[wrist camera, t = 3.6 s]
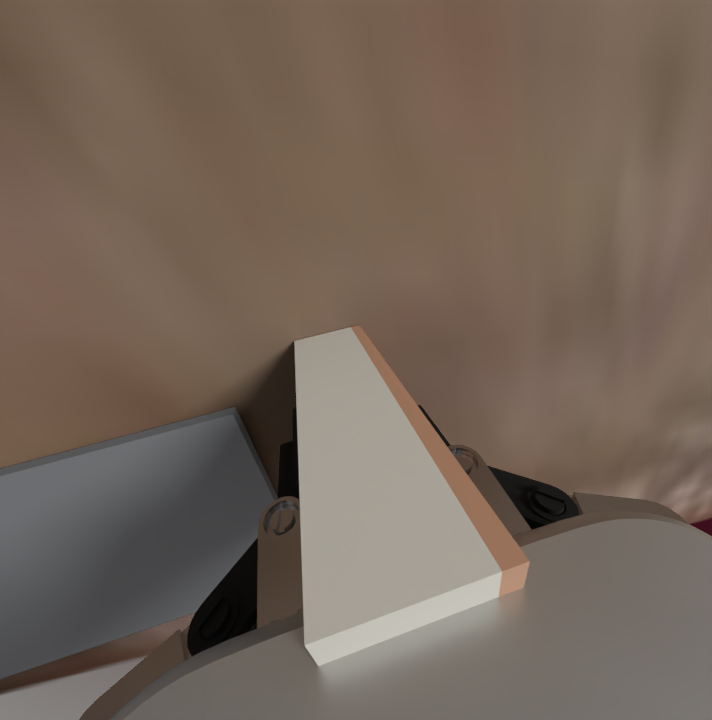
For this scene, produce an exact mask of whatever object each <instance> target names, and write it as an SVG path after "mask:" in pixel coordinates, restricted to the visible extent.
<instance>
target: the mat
mask: <svg viewBox="0 0 712 720" xmlns="http://www.w3.org/2000/svg"><path fill="white" fill-rule="evenodd" d="M277 499H278V496H277V494H276V492H275V490H274V488H273V486H272V484H271V482H270V479H269V477H268V475H267V473H266V471H265V469H264V467H263V465H262V462H261V460H260V458H259V456H258V454H257V452H256V450H255V448H254V446H253V443H252V441H251V439H250V437H249V435H248V433H247V431H246V429H245V426H244V424H243V422H242V420H241V418H240V416H239V414H238V412H237V410H236V407H232V408H228V409H225V410H221V411H217V412H213V413H209V414H206V415H202V416H198V417H194V418H190V419H187V420H183V421H179V422H175V423H171V424H168V425H164V426H160V427H156V428H152V429H149V430H145V431H141V432H137V433H134V434H130V435H126V436H122V437H118V438H115V439H111V440H107V441H103V442H99V443H96V444H92V445H88V446H84V447H80V448H77V449H73V450H69V451H65V452H61V453H58V454H54V455H50V456H46V457H42V458H39V459H35V460H31V461H27V462H24V463H20V464H16V465H12V466H8V467H5V468H1V469H0V679H2V678H5V677H8V676H11V675H14V674H17V673H20V672H23V671H26V670H29V669H32V668H34V667H37V666H40V665H43V664H46V663H49V662H52V661H55V660H58V659H61V658H64V657H66V656H69V655H72V654H75V653H78V652H81V651H84V650H87V649H90V648H93V647H96V646H99V645H101V644H104V643H107V642H110V641H113V640H116V639H119V638H122V637H125V636H128V635H131V634H134V633H136V632H139V631H142V630H145V629H148V628H151V627H154V626H157V625H160V624H163V623H166V622H168V621H171V620H174V619H177V618H180V617H183V616H186V615H189V614H192V613H195V612H196V611H197V610H198V609H199V607H200V606H201V604H202V603H203V602H204V601H205V599H206V598H207V597H208V596H209V595H210V593H211V592H212V591H213V590H214V589H215V587H216V586H217V585H218V584H219V583H220V582H221V580H222V579H223V578H224V577H225V576H226V574H227V573H228V572H229V571H230V570H231V568H232V567H233V566H234V565H235V564H236V562H237V561H238V560H239V559H240V558H241V557H242V555H243V554H244V553H245V552H246V551H247V549H248V548H249V547H250V546H251V545H252V543H253V542H254V541H255V540H256V539H257V538H258V523H259V519H260V517H261V515H262V512H263V511H264V510H265V509H266V507H267V506H268V505H270V504H271V503H272V502H273V501H275V500H277Z"/></svg>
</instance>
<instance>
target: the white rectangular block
mask: <svg viewBox="0 0 712 720" xmlns="http://www.w3.org/2000/svg"><path fill="white" fill-rule="evenodd" d="M294 346H295V376H296V406H297V436H298V466H299V496H300V526H301V556H302V586H303V616H304V646H305V647H306V649H307V650H308V652H309V653H310V655H311V656H312V657H313V659H314V660H315V662H316V663H317V665H318V666H320V665H323V664H325V663H328V662H331V661H333V660H336V659H338V658H341V657H343V656H346V655H349V654H351V653H354V652H356V651H359V650H362V649H364V648H367V647H369V646H372V645H374V644H377V643H380V642H382V641H385V640H387V639H390V638H393V637H395V636H398V635H400V634H403V633H406V632H408V631H411V630H413V629H416V628H419V627H421V626H424V625H426V624H429V623H432V622H434V621H437V620H439V619H442V618H445V617H447V616H450V615H452V614H455V613H458V612H460V611H463V610H466V609H468V608H471V607H474V606H476V605H479V604H481V603H484V602H487V601H489V600H492V599H495V598H497V597H500V596H502V595H505V594H508V593H510V592H513V591H516V590H518V589H521V588H523V587H524V585H525V580H526V576H527V571H528V567H529V563H530V561H529V559H528V558H527V557H526V555H525V554H524V552H523V551H522V550H521V548H520V547H519V545H518V544H517V543H516V541H515V540H514V539H513V537H512V536H511V534H510V533H509V532H508V530H507V529H506V528H505V526H504V525H503V523H502V522H501V521H500V519H499V518H498V516H497V515H496V514H495V512H494V511H493V510H492V508H491V507H490V505H489V504H488V503H487V501H486V500H485V498H484V497H483V496H482V494H481V493H480V492H479V490H478V489H477V487H476V486H475V485H474V483H473V482H472V480H471V479H470V478H469V476H468V475H467V474H466V472H465V471H464V469H463V468H462V467H461V465H460V464H459V462H458V461H457V460H456V458H455V457H454V456H453V454H452V453H451V451H450V450H449V449H448V447H447V446H446V444H445V443H444V442H443V440H442V439H441V438H440V436H439V435H438V433H437V432H436V431H435V429H434V428H433V426H432V425H431V424H430V422H429V421H428V420H427V418H426V417H425V415H424V414H423V413H422V411H421V410H420V408H419V407H418V406H417V404H416V403H415V402H414V400H413V399H412V397H411V396H410V395H409V393H408V392H407V390H406V389H405V388H404V386H403V385H402V384H401V382H400V381H399V379H398V378H397V377H396V375H395V374H394V372H393V371H392V370H391V368H390V367H389V366H388V364H387V363H386V361H385V360H384V359H383V357H382V356H381V355H380V353H379V352H378V350H377V349H376V348H375V346H374V345H373V343H372V342H371V341H370V339H369V338H368V337H367V335H366V334H365V332H364V331H363V330H362V328H361V327H360V325H358V326H354V327H350V328H346V329H342V330H338V331H333V332H329V333H325V334H321V335H317V336H313V337H309V338H305V339H301V340H297V341H294Z"/></svg>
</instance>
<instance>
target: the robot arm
mask: <svg viewBox="0 0 712 720" xmlns="http://www.w3.org/2000/svg"><path fill="white" fill-rule="evenodd" d="M417 406H418V407H419V408H420V410H421V411H422V413H423V414H424V415H425V417H426V418H427V420H428V421H429V422H430V424H431V425H432V426H433V428H434V429H435V431H436V432H437V433H438V435H439V436H440V438H441V439H442V440H443V442H444V443H445V444H446V446H447V447H448V449H449V450H450V451H451V453H452V454H453V456H454V457H455V458H456V460H457V461H458V462H459V464H460V465H461V467H462V468H463V469H464V471H465V472H466V474H467V475H468V476H469V478H470V479H471V480H472V482H473V483H474V485H475V486H476V487H477V489H478V490H479V492H480V493H481V494H482V496H483V497H484V498H485V500H486V501H487V503H488V504H489V505H490V507H491V508H492V510H493V511H494V512H495V514H496V515H497V516H498V518H499V519H500V521H501V522H502V523H503V525H504V526H505V528H506V529H507V530H508V532H509V533H510V534H511V536H512V537H513V539H514V540H515V541H516V543H517V544H518V545H519V547H520V548H521V550H522V551H523V552H524V554H525V555H526V557H527V558H528V559H529V561H530V563H529V567H528V571H527V576H526V580H525V585H524V587H523V588H521V589H518V590H516V591H513V592H510V593H508V594H505V595H502V596H500V597H497V598H495V599H492V600H489V601H487V602H484V603H481V604H479V605H476V606H474V607H471V608H468V609H466V610H463V611H460V612H458V613H455V614H452V615H450V616H447V617H445V618H442V619H439V620H437V621H434V622H432V623H429V624H426V625H424V626H421V627H419V628H416V629H413V630H411V631H408V632H406V633H403V634H400V635H398V636H395V637H393V638H390V639H387V640H385V641H382V642H380V643H377V644H374V645H372V646H369V647H367V648H364V649H362V650H359V651H356V652H354V653H351V654H349V655H346V656H343V657H341V658H338V659H336V660H333V661H331V662H328V663H325V664H323V665H320V666H318V665H317V663H316V662H315V660H314V659H313V657H312V656H311V655H310V653H309V652H308V650H307V649H306V647H305V646H304V616H303V586H302V556H301V526H300V496H299V466H298V436H297V408H294V409H293V441H291V442H287V443H284V444H281V446H280V462H279V484H278V499H277V500H275V501H273V502H272V503H271V504H270V505H268V506H267V507H266V509H265V510H264V511H263V512H262V515H261V517H260V519H259V523H258V538H257V539H256V540H255V541H254V542H253V543H252V545H251V546H250V547H249V548H248V549H247V551H246V552H245V553H244V554H243V555H242V557H241V558H240V559H239V560H238V561H237V562H236V564H235V565H234V566H233V567H232V568H231V570H230V571H229V572H228V573H227V574H226V576H225V577H224V578H223V579H222V580H221V582H220V583H219V584H218V585H217V586H216V587H215V589H214V590H213V591H212V592H211V593H210V595H209V596H208V597H207V598H206V599H205V601H204V602H203V603H202V604H201V606H200V607H199V609H198V610H197V611H196V613H195V615H194V617H193V619H192V621H191V623H190V625H189V626H188V627H187V628H186V629H185V630H184V631H180V630H178V631H176V632H175V633H174V634H173V635H172V636H171V637H169V638H168V639H167V640H166V641H165V642H164V643H162V644H161V645H160V646H159V647H158V648H157V649H155V650H154V651H153V652H152V653H151V654H150V655H148V656H147V657H146V658H145V659H144V660H143V661H141V662H140V663H139V664H138V665H137V666H136V667H134V668H133V669H132V670H131V671H130V672H128V673H127V674H126V675H125V676H124V677H123V678H121V679H120V680H119V681H118V682H117V683H116V684H115V685H113V686H112V687H111V688H110V689H109V690H107V691H106V692H105V693H104V694H103V695H102V696H100V697H99V698H98V699H97V700H96V701H95V702H94V703H93V704H92V705H91V706H90V707H89V708H88V709H87V710H86V711H85V712H84V714H83V715H82V716H81V718H80V719H79V720H712V536H710V535H708V534H706V533H704V532H702V531H700V530H699V529H697V528H695V527H693V526H691V525H688V523H687V522H686V521H685V520H684V519H683V518H682V517H681V516H680V515H678V514H677V513H675V512H674V511H672V510H671V509H669V508H667V507H665V506H663V505H661V504H658V503H656V502H652V501H647V500H640V499H631V498H622V497H613V496H604V495H595V494H586V493H577V492H574V493H573V496H572V495H567V494H566V493H564V492H563V491H561V490H560V489H558V488H556V487H553V486H551V485H548V484H545V483H542V482H538V481H535V480H532V479H529V478H525V477H522V476H519V475H516V474H512V473H509V472H506V471H503V470H499V469H496V468H493V467H490V466H487V465H486V463H485V462H484V460H483V459H482V458H481V456H480V455H479V454H478V453H477V452H476V451H475V450H473V449H471V448H469V447H466V446H463V445H450V444H449V443H448V441H447V440H446V439H445V437H444V436H443V435H442V433H441V432H440V431H439V429H438V428H437V427H436V425H435V424H434V423H433V421H432V420H431V419H430V417H429V416H428V414H427V413H426V412H425V410H424V409H423V408H422V407H421V406H420V405H417Z"/></svg>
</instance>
